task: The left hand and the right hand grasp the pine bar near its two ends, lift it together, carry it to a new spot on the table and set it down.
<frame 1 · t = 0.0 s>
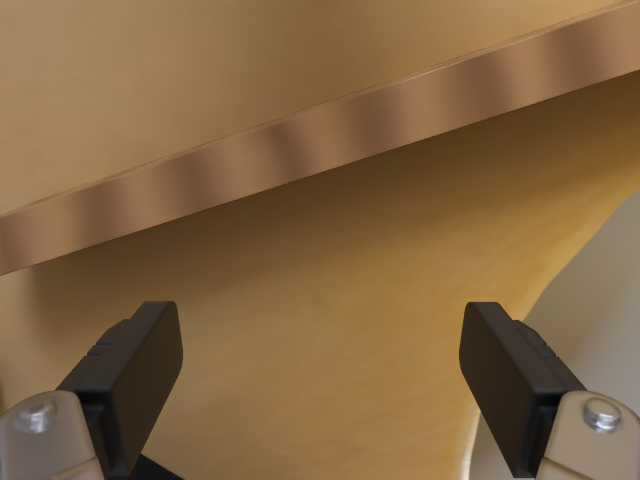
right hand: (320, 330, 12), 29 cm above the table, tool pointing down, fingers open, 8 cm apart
bar: (361, 117, 38), on the table
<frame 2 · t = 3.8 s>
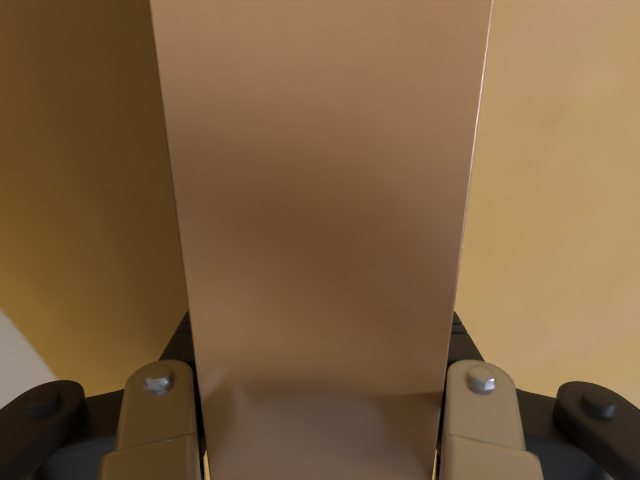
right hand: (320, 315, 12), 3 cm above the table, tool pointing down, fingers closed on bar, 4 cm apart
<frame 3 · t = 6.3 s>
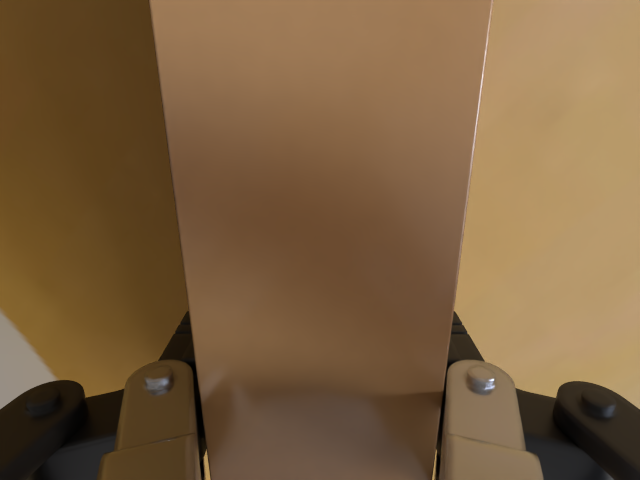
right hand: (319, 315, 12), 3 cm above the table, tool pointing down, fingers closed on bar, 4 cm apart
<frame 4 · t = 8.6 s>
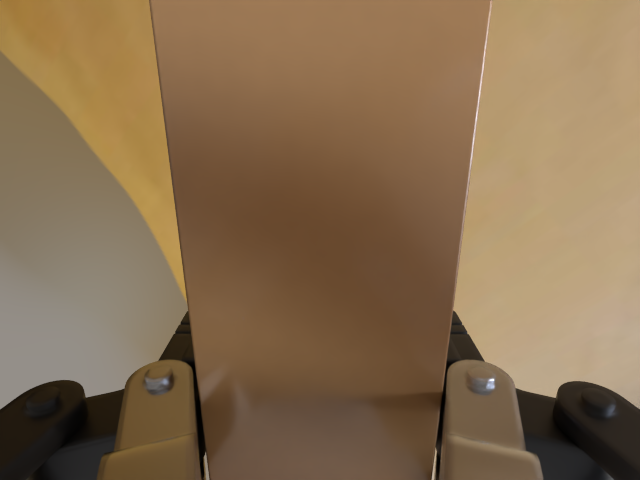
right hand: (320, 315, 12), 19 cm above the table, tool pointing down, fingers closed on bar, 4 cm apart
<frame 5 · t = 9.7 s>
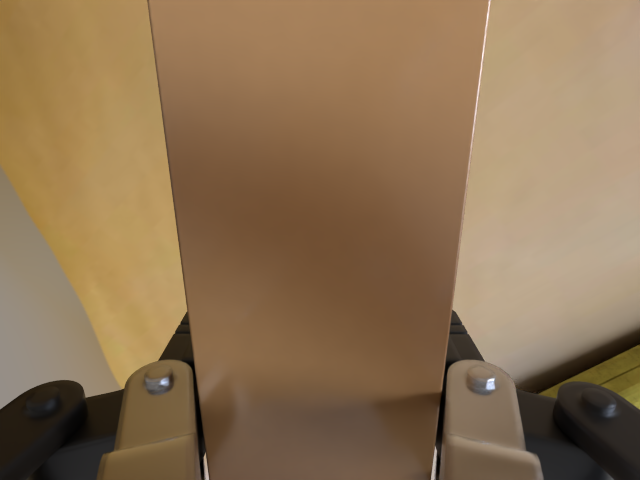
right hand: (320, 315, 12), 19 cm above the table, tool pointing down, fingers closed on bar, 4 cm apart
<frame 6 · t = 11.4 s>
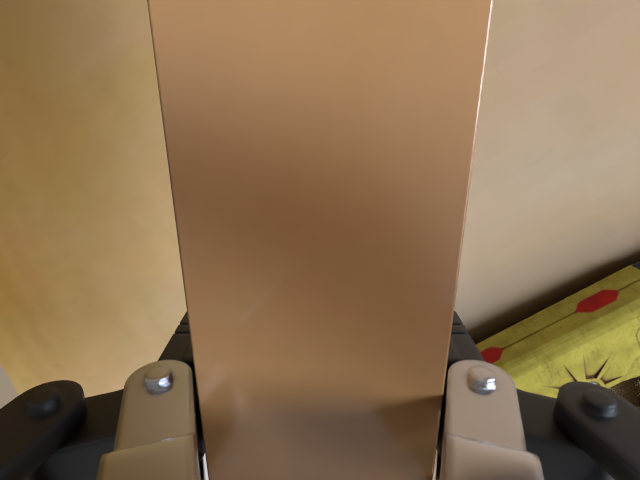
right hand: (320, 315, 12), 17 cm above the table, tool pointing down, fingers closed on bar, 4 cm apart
toy gun: (590, 360, 33), on the table
when the left hand's fingers open (5 cm above the table, at t = 13.1 s): bar drops 2 cm, on the table.
when the right hand's fingers open (5 cm above the table, at t = 13.2 s): bar drops 1 cm, on the table.
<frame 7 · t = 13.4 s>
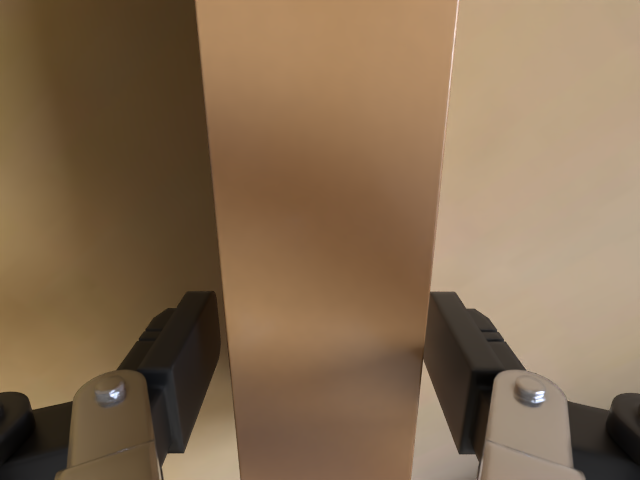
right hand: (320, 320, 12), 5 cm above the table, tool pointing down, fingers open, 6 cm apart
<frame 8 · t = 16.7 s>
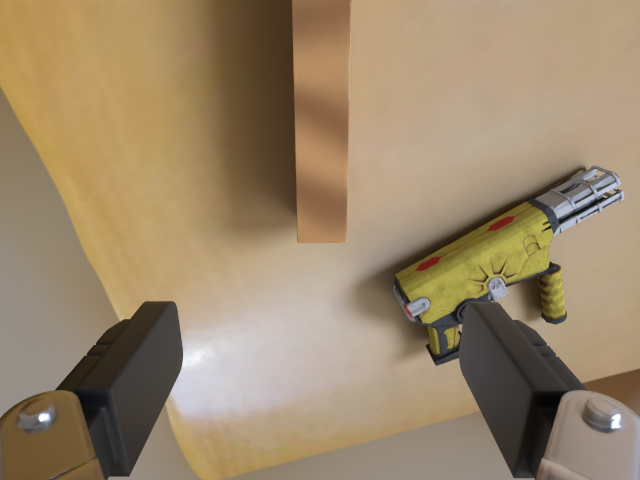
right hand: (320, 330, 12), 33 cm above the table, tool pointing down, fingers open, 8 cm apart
toy gun: (506, 273, 47), on the table
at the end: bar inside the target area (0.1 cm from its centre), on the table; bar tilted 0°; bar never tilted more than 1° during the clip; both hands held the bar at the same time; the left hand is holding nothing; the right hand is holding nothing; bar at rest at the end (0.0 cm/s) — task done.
